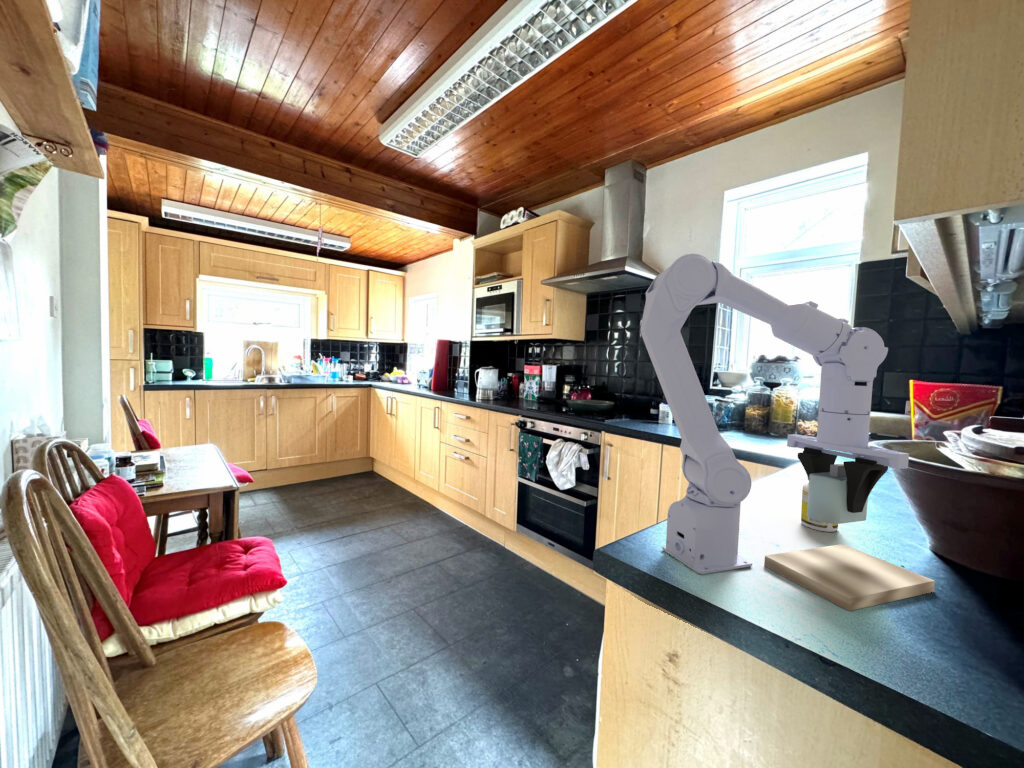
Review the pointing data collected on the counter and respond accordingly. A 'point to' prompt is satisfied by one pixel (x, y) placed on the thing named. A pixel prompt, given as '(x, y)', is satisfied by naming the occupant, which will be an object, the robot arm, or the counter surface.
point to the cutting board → (849, 576)
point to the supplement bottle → (811, 522)
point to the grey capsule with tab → (831, 497)
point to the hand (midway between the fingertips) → (837, 506)
